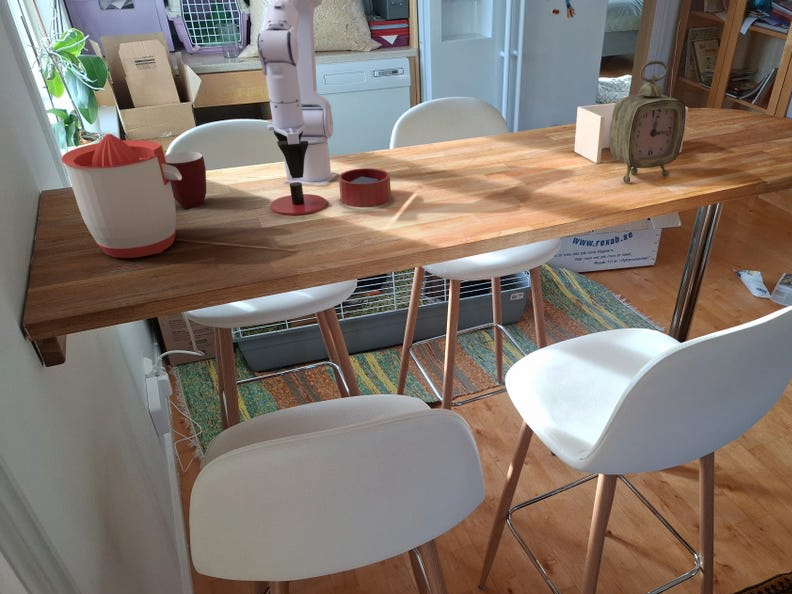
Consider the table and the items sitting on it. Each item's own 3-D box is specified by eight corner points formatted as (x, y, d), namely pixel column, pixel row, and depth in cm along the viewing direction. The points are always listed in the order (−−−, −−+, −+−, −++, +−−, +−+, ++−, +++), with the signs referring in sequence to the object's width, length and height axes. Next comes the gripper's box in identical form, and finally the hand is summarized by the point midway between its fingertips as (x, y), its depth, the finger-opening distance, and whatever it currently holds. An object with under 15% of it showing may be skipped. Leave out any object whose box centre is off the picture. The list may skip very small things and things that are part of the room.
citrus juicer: (194, 258, 120) (166, 141, 109) (84, 269, 116) (44, 150, 105) (198, 225, 133) (173, 118, 122) (99, 235, 129) (65, 125, 118)
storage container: (656, 141, 185) (662, 98, 179) (681, 152, 176) (688, 107, 170) (574, 151, 177) (577, 106, 171) (596, 163, 168) (600, 116, 162)
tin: (333, 207, 141) (330, 182, 138) (351, 191, 150) (349, 166, 147) (382, 211, 140) (380, 185, 137) (397, 194, 148) (396, 169, 145)
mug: (159, 216, 137) (146, 166, 131) (157, 203, 143) (145, 155, 137) (215, 209, 140) (204, 160, 135) (211, 197, 146) (200, 149, 141)
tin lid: (261, 215, 137) (256, 191, 135) (285, 197, 147) (281, 173, 144) (313, 220, 135) (310, 195, 133) (335, 201, 145) (332, 177, 142)
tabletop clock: (623, 186, 154) (638, 66, 140) (601, 174, 160) (613, 59, 147) (676, 178, 159) (695, 61, 145) (652, 167, 166) (668, 55, 152)
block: (352, 200, 144) (350, 181, 142) (362, 194, 147) (361, 176, 145) (369, 203, 142) (367, 184, 140) (380, 198, 145) (378, 179, 143)
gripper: (260, 93, 134) (271, 163, 142) (266, 110, 123) (277, 184, 130) (297, 91, 136) (306, 160, 144) (306, 107, 125) (315, 181, 132)
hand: (295, 171), depth 137 cm, fingers open, 7 cm apart
